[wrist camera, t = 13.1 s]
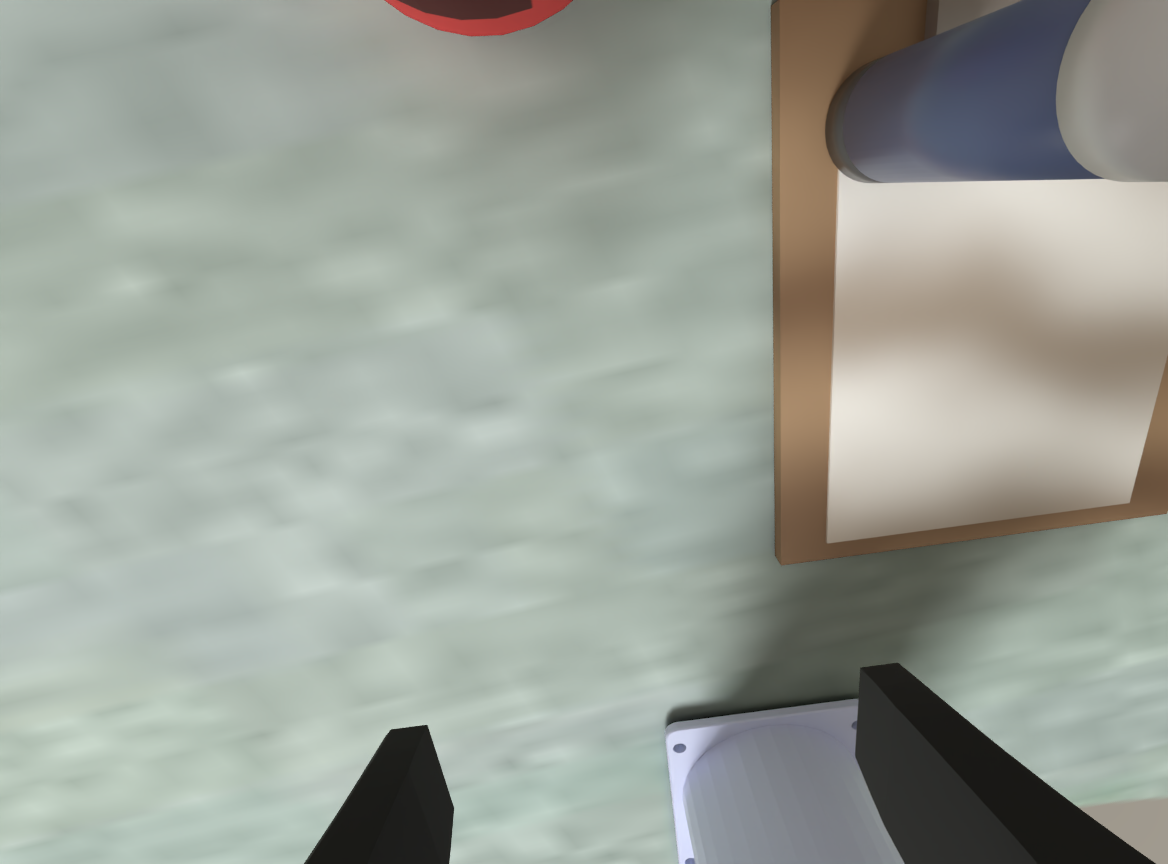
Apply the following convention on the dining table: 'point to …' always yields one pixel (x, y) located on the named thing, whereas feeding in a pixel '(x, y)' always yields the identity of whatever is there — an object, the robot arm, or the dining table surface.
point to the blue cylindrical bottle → (1014, 99)
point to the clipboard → (951, 326)
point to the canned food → (479, 14)
